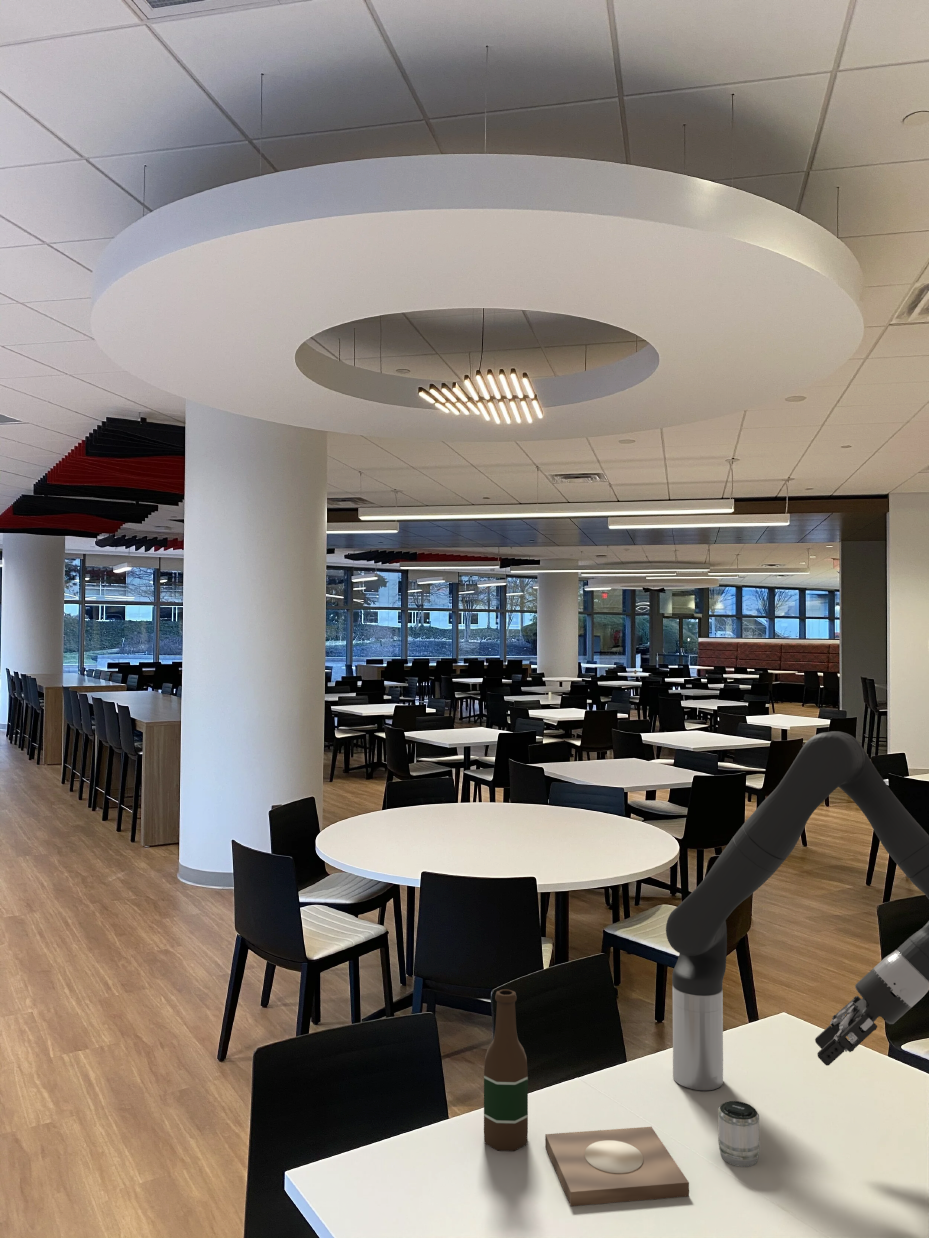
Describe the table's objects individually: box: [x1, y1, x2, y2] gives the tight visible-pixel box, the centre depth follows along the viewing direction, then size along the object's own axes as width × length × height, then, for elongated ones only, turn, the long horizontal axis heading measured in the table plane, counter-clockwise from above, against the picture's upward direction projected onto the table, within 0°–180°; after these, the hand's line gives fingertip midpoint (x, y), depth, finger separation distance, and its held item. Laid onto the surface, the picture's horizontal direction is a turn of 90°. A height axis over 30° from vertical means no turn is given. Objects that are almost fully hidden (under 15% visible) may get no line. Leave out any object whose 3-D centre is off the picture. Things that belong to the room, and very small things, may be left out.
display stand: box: [544, 1126, 690, 1207], centre depth 140 cm, size 16×18×2 cm
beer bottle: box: [483, 988, 529, 1152], centre depth 149 cm, size 8×8×24 cm
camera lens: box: [717, 1100, 760, 1168], centre depth 144 cm, size 6×6×8 cm
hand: (820, 1052), depth 147 cm, fingers open, 8 cm apart
